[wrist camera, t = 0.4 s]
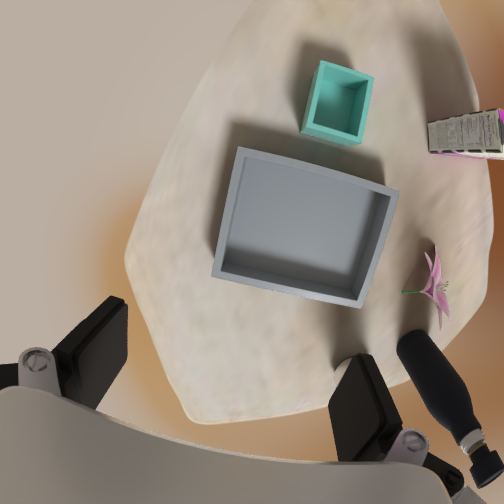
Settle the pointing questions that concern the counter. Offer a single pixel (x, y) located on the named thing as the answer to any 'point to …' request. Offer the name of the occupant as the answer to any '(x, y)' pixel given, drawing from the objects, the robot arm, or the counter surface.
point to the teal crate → (337, 104)
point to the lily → (435, 288)
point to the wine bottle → (448, 402)
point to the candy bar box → (469, 135)
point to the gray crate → (302, 228)
